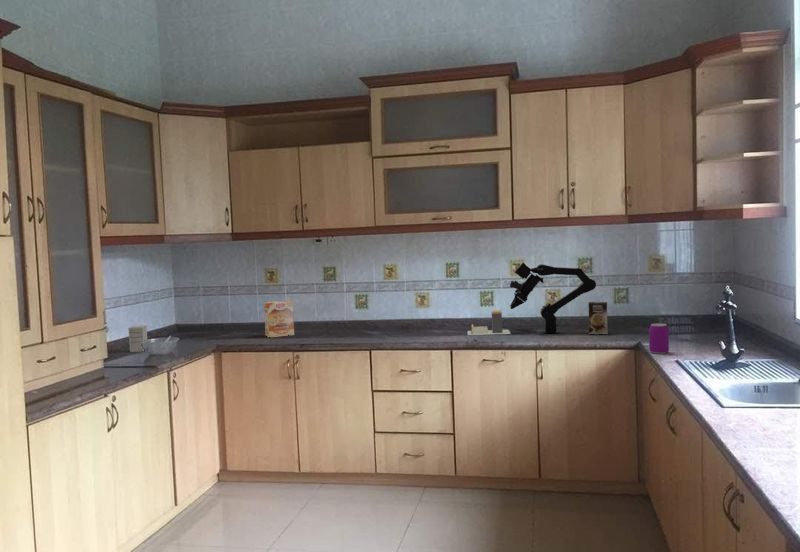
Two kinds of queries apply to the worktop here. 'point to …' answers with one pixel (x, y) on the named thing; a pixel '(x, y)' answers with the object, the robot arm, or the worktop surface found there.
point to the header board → (484, 331)
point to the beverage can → (659, 338)
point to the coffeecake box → (279, 318)
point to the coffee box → (597, 317)
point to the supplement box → (137, 337)
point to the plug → (497, 321)
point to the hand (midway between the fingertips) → (510, 307)
